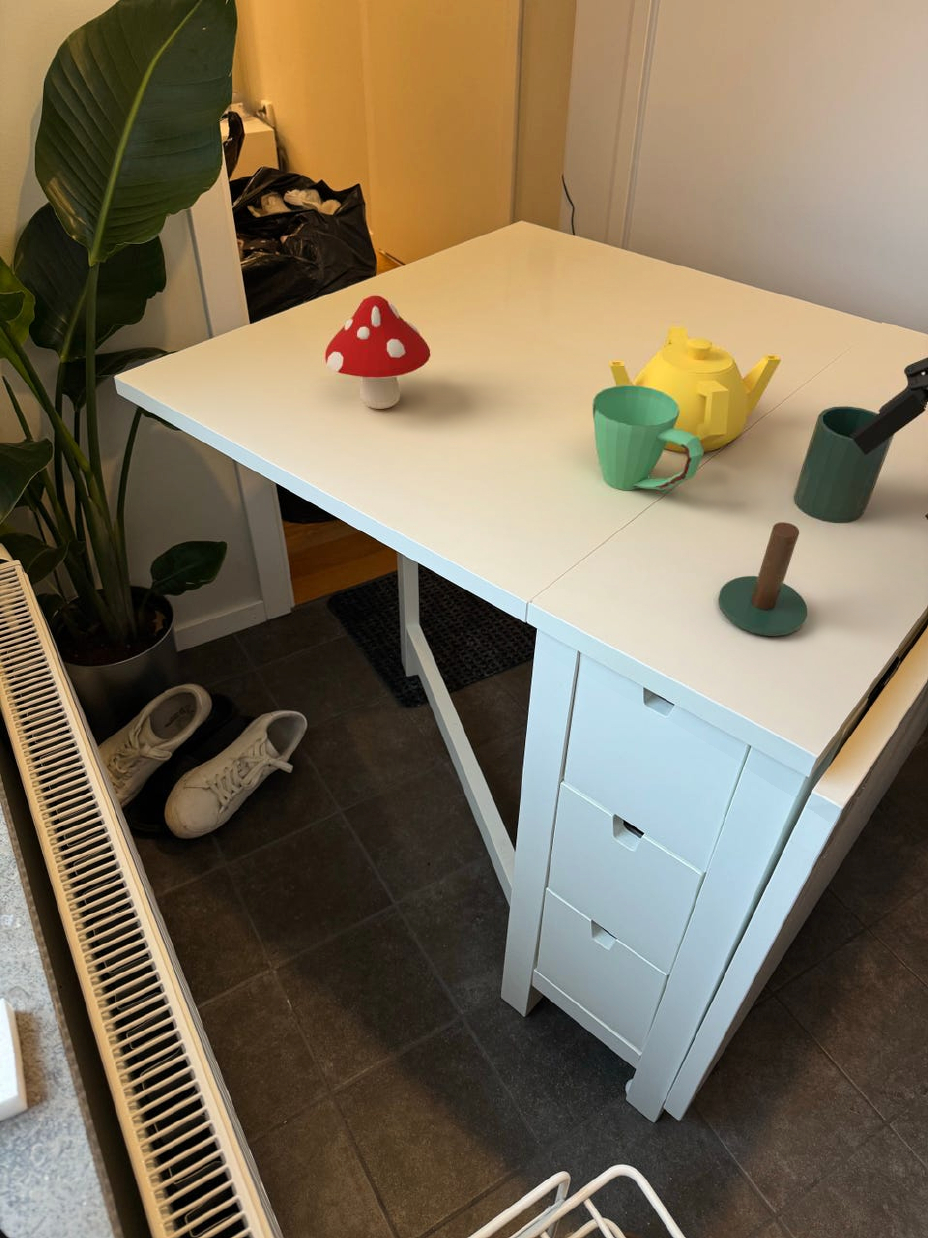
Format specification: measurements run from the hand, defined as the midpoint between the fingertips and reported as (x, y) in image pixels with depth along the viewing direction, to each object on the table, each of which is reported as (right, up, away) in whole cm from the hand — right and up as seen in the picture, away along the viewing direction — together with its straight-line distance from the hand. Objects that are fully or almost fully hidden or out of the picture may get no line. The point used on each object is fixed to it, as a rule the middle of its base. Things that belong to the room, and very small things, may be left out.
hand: (892, 483), depth 82 cm
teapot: (-10, +13, +36) cm, 40 cm away
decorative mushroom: (-51, +17, +40) cm, 67 cm away
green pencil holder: (+4, +1, +23) cm, 24 cm away
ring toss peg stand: (-9, -11, +8) cm, 17 cm away
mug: (-18, +3, +25) cm, 31 cm away
